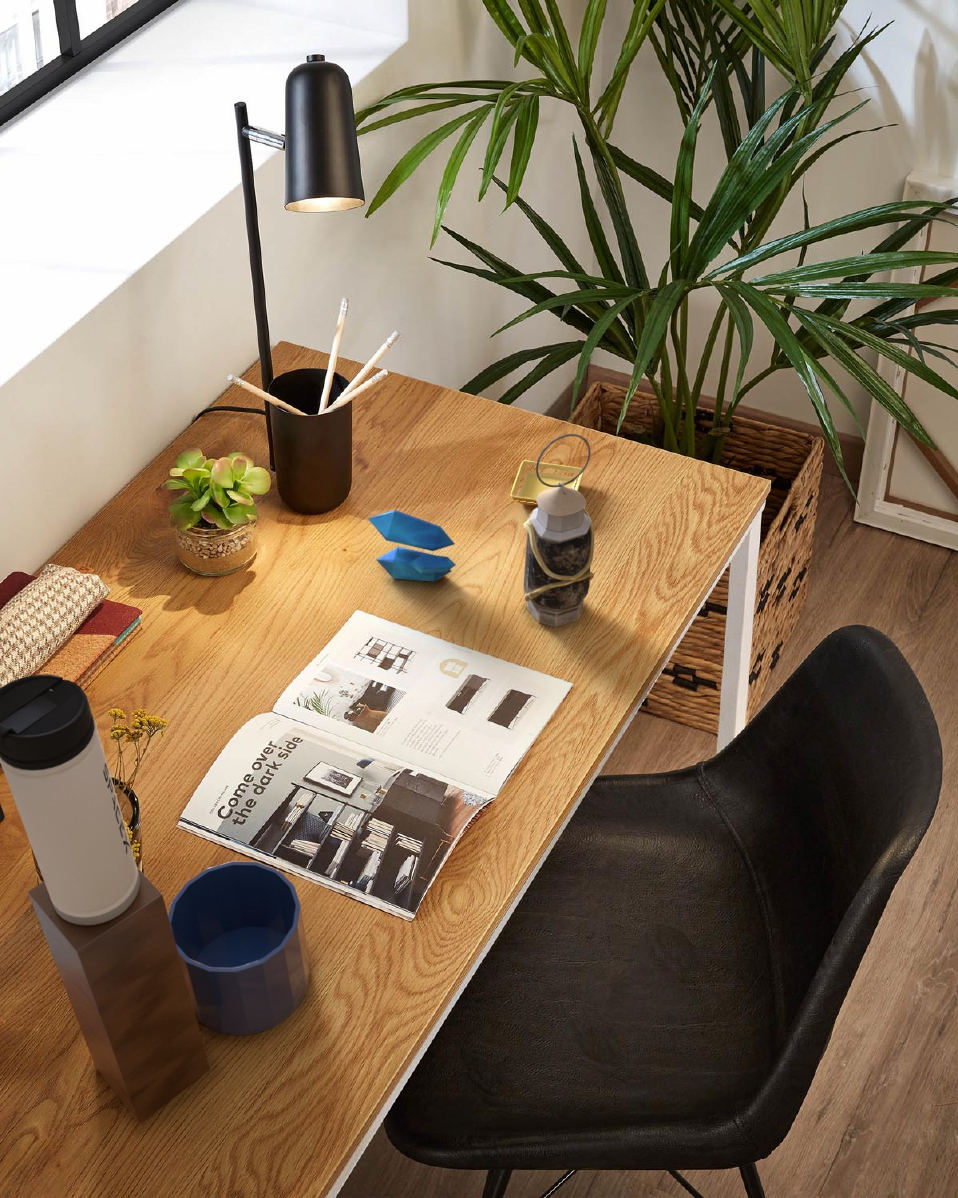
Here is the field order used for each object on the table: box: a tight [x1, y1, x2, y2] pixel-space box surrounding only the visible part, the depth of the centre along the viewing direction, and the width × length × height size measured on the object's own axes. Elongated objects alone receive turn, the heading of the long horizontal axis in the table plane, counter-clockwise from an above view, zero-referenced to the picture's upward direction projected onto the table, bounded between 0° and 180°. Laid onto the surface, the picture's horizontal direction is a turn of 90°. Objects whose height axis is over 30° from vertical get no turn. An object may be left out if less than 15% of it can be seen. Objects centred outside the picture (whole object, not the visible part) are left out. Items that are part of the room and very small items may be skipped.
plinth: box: [27, 866, 211, 1125], centre depth 101 cm, size 7×7×25 cm
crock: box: [167, 860, 311, 1037], centre depth 112 cm, size 11×11×10 cm
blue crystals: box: [367, 509, 457, 583], centre depth 156 cm, size 7×9×12 cm
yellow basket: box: [509, 459, 585, 507], centre depth 171 cm, size 9×9×2 cm
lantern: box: [522, 433, 595, 628], centre depth 146 cm, size 9×8×25 cm
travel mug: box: [0, 674, 140, 925], centre depth 86 cm, size 6×7×20 cm
